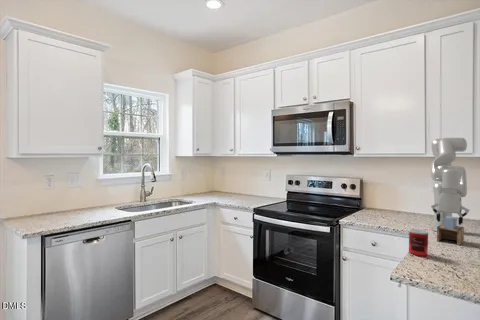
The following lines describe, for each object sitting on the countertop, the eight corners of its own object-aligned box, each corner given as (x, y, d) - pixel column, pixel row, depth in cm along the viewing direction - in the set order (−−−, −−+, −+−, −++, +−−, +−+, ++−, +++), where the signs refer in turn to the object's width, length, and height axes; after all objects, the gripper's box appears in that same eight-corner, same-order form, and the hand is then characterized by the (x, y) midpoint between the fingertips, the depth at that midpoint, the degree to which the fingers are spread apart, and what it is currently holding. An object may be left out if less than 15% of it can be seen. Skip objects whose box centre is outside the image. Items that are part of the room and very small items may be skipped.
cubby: (442, 237, 173) (442, 224, 173) (463, 241, 166) (463, 227, 166) (436, 241, 165) (437, 226, 165) (458, 245, 158) (459, 230, 158)
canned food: (420, 251, 145) (421, 229, 145) (431, 257, 137) (432, 233, 137) (404, 251, 145) (405, 228, 144) (415, 257, 137) (415, 233, 136)
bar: (446, 224, 172) (447, 216, 172) (456, 226, 169) (456, 217, 169) (443, 227, 163) (443, 218, 163) (453, 229, 160) (453, 220, 160)
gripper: (471, 192, 159) (470, 224, 159) (433, 189, 172) (432, 219, 172) (468, 193, 154) (467, 226, 154) (429, 190, 167) (429, 221, 167)
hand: (449, 222), depth 163 cm, fingers open, 9 cm apart
